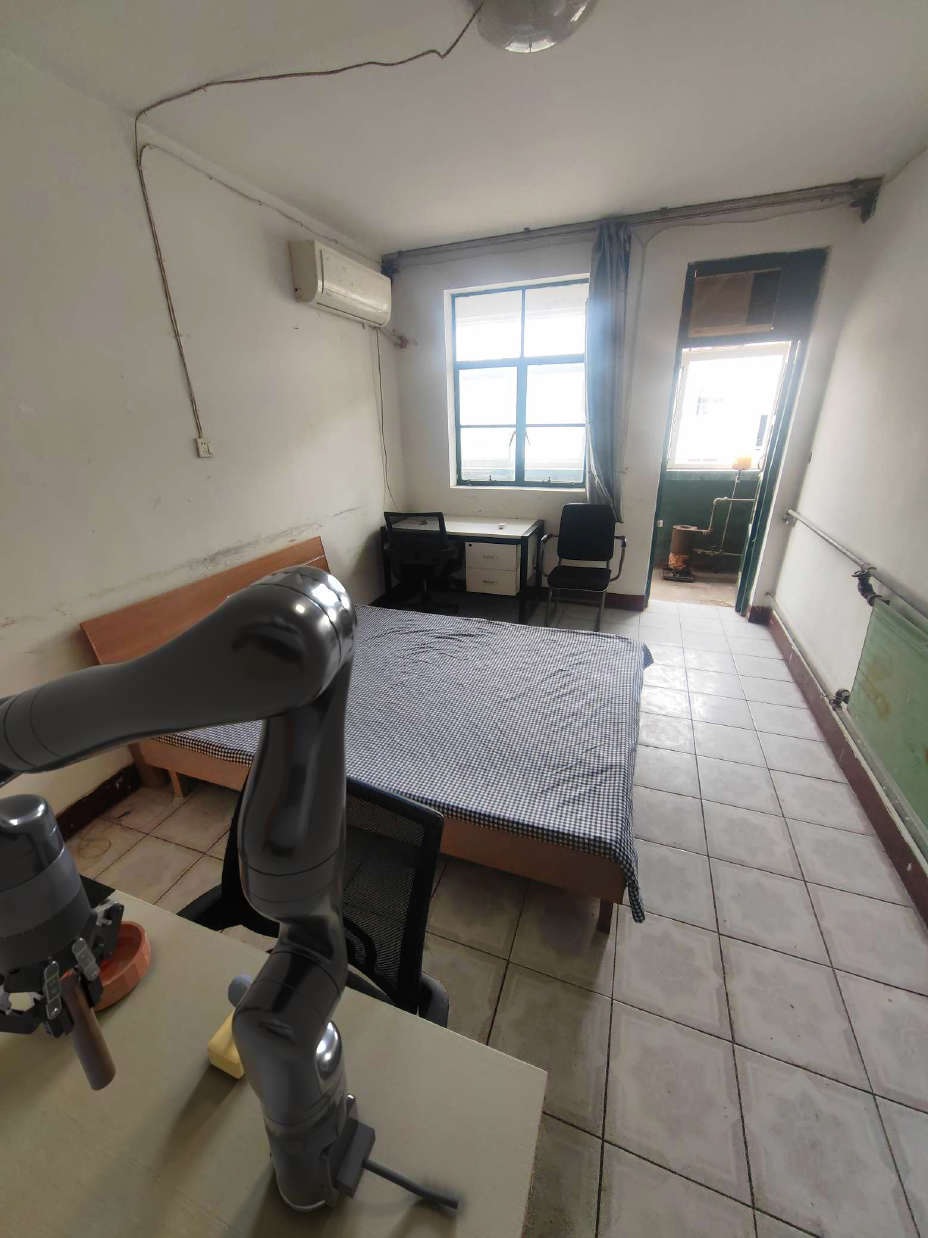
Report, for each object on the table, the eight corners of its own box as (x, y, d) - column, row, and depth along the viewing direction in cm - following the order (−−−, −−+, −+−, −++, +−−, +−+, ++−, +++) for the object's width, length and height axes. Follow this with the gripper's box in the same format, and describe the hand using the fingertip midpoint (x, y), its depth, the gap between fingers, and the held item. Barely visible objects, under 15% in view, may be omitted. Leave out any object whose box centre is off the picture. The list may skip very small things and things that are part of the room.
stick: (121, 1070, 56) (85, 977, 50) (100, 1095, 54) (61, 1001, 48) (106, 1062, 56) (70, 970, 51) (86, 1086, 54) (45, 992, 49)
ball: (120, 957, 81) (116, 945, 80) (102, 975, 78) (98, 962, 77) (107, 952, 82) (103, 939, 81) (90, 968, 79) (85, 956, 78)
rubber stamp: (240, 1081, 66) (226, 1025, 62) (209, 1063, 68) (194, 1007, 64) (288, 1007, 74) (279, 954, 70) (259, 993, 76) (249, 941, 72)
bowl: (168, 954, 82) (162, 933, 81) (98, 1028, 72) (89, 1007, 70) (119, 932, 86) (112, 912, 84) (46, 1000, 75) (36, 978, 74)
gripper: (-37, 983, 38) (27, 1109, 44) (127, 854, 51) (161, 966, 56) (-90, 953, 41) (-22, 1076, 46) (80, 837, 53) (117, 945, 59)
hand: (78, 1015), depth 51 cm, fingers closed on stick, 2 cm apart
